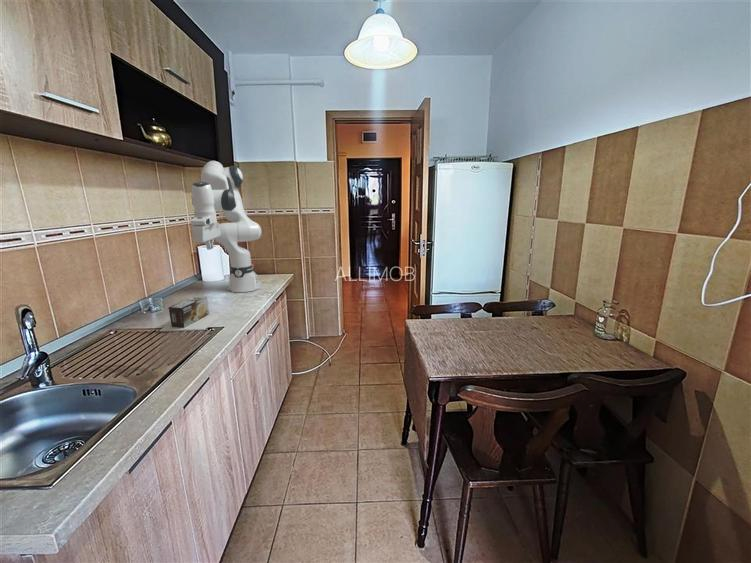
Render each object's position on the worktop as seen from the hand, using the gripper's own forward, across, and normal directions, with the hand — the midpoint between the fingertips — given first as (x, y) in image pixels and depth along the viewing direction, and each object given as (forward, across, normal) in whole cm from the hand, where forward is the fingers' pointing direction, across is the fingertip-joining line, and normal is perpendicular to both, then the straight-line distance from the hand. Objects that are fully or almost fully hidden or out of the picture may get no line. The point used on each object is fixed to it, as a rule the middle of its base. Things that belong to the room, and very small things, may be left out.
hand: (210, 249), depth 157 cm
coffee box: (+24, +10, -2) cm, 26 cm away
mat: (+29, +20, -3) cm, 35 cm away
